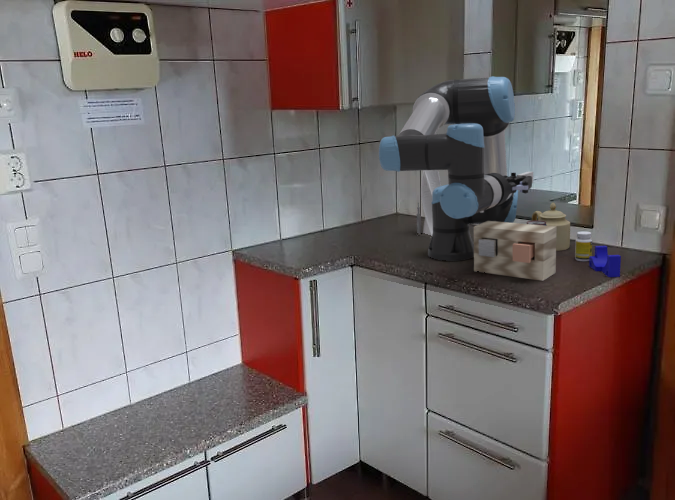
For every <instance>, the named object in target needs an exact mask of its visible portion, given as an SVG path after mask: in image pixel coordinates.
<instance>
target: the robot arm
mask: <svg viewBox="0 0 675 500" xmlns="http://www.w3.org/2000/svg"><path fill="white" fill-rule="evenodd" d="M515 106H516V105H515V94H514V90H513V84H512V82H511V81H510V79H509V78H508V77H505V76H493V75H492V76H489V77H478V78H477V77H476V78H459V79H448V80H445V81H441V82H438V83H437V84H434V85H433V86H431V87H429V88H427V89H426V90H425V91H423V92H422V93H421V94H420V95H419V96H418V97H417V98H416V100H415V102H414V104H413V106H412V114H411V115H410V116H409V118H408V119H407V120H406V122H405V124H404V126H403V127H402V129H401V130H400V132H399V133H398V135H391V136H384V137H382V139H381V140H380V142H379V146H378V157H379V158H378V159H379V164H380V166H381V169H382V170H384V171H388V172H398V173H399V172H413V171H414V172H417V171H419V172H420V171H423V170H438V171H447V173H448V175H447V182H448V184H445V185H441V186H440V187H437V188H435V189H434V190H433V192H432V217H433V234H432V237H430V241H429V245H428V248H427V249H428V250H427V256H428V257H429V258H430V257H431V258H430V259H432V258H434V259H433V260H435V259H438V260H437V261H442V260H446V262H455V261H457V262H458V261H465V260H470V259H472V258H474V240H473V238H472V237H471V233H470V225H479V224H481V223H484V222H486V221H496V222H508V223H515V221H516V217H517V209H518V199H519V193H523V194H528V193H529V190H531V189H532V188H533V183H534V171H525V172H522V173H519V174H517V173H516V172H510V175H509V176H508V170H507V169H508V168H507V155H506V153H507V152H506V137H505V135H506V134H505V130H506V129H508V127H509V124H510V123H511V122H513V121H514V120H515V115H516V107H515ZM445 125H448V126H447V129H446V133H438V131H439V129H440V128H442V127H443V126H445Z"/></svg>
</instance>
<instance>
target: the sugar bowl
mask: <svg viewBox="0 0 675 500" xmlns="http://www.w3.org/2000/svg"><path fill="white" fill-rule="evenodd" d="M549 208H550V210H546V211H543V212H542V211H539V210H536V211H533V213H532V215H531V221H534V220H539V221H545V222H546V225H547V226H556V227H557V229H556V252H560V251H561V252H562V251H566V250H568V249H569V248H570V241H571V221H569V220H567V219H566V217H567V214H565V213H564V212H562V211H560V210H556V209H557V206H556V203H555V202H551V203H550V205H549Z"/></svg>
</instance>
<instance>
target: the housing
mask: <svg viewBox="0 0 675 500" xmlns="http://www.w3.org/2000/svg"><path fill="white" fill-rule="evenodd" d="M556 229H557V227H556V226H544V225H532V224H527V223H518V222H513V223H508V222H496V221H486V222H484V223H481V224H475V226H473V244H474V257H473V271H474V272H477V271H479V273H484V272H485V273H486V274H492V275H498V276H507V277H513V278H520V279H529V280H535V281H542V282H544V281H545V280H547V279H548V278H549V277H552V275H555V274H556V269H557V267H556V266H557V251H556ZM487 238H492V239H498V252H497V253H496V257H488V256H480V255H479V239H487ZM523 242H531V243H535V256H534V257H533V258H531V262H530V263H525V262H517V261H513V244H514V243H516V244H521V243H523ZM485 273H484V274H485Z"/></svg>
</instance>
